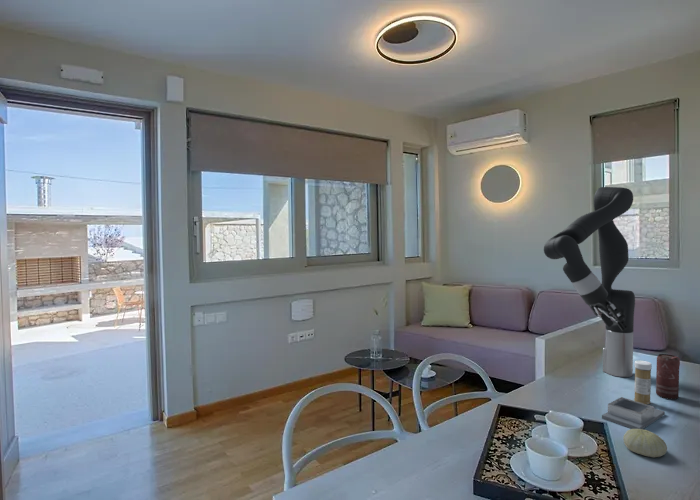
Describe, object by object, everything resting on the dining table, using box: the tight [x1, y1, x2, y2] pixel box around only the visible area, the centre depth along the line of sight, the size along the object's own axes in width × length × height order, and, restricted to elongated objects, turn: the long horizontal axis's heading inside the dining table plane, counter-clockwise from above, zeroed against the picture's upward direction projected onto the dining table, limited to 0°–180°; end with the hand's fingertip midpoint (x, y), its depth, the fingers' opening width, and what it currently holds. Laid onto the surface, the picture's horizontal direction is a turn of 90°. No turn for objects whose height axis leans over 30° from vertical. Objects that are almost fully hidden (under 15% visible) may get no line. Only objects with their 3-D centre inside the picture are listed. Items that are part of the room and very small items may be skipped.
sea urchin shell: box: [622, 428, 668, 458], centre depth 109 cm, size 9×8×8 cm
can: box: [655, 353, 681, 401], centre depth 142 cm, size 6×6×14 cm
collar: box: [607, 396, 655, 425], centre depth 126 cm, size 9×9×3 cm
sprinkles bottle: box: [633, 360, 652, 405], centre depth 138 cm, size 5×5×13 cm
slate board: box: [601, 407, 666, 430], centre depth 128 cm, size 10×18×1 cm, turn 124°
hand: (618, 327), depth 139 cm, fingers open, 8 cm apart
